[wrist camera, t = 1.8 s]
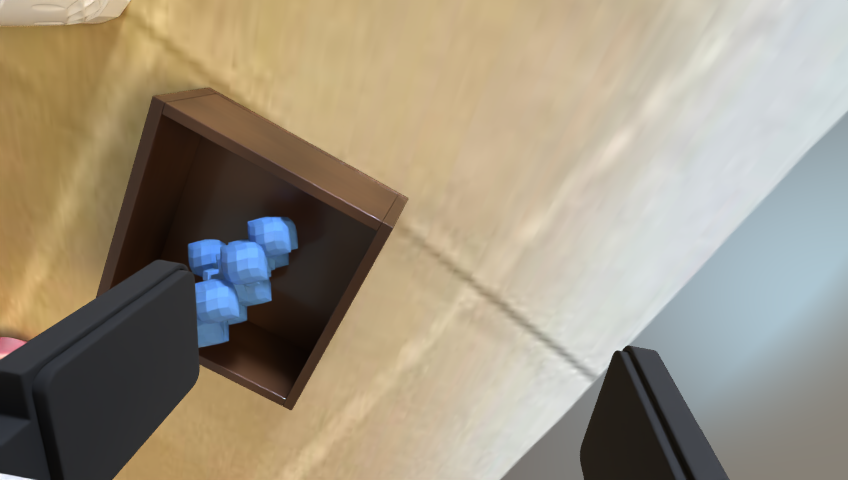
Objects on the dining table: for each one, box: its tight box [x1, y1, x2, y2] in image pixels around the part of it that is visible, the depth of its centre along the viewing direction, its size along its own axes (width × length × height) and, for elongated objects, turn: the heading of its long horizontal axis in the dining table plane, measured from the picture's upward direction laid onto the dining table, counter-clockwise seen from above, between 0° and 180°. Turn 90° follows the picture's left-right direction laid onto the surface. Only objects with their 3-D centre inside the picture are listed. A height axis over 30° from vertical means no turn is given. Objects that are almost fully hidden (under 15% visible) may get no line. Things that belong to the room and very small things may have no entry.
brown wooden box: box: [96, 88, 408, 410], centre depth 36 cm, size 17×18×6 cm
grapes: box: [188, 216, 298, 348], centre depth 33 cm, size 12×7×12 cm, turn 143°
